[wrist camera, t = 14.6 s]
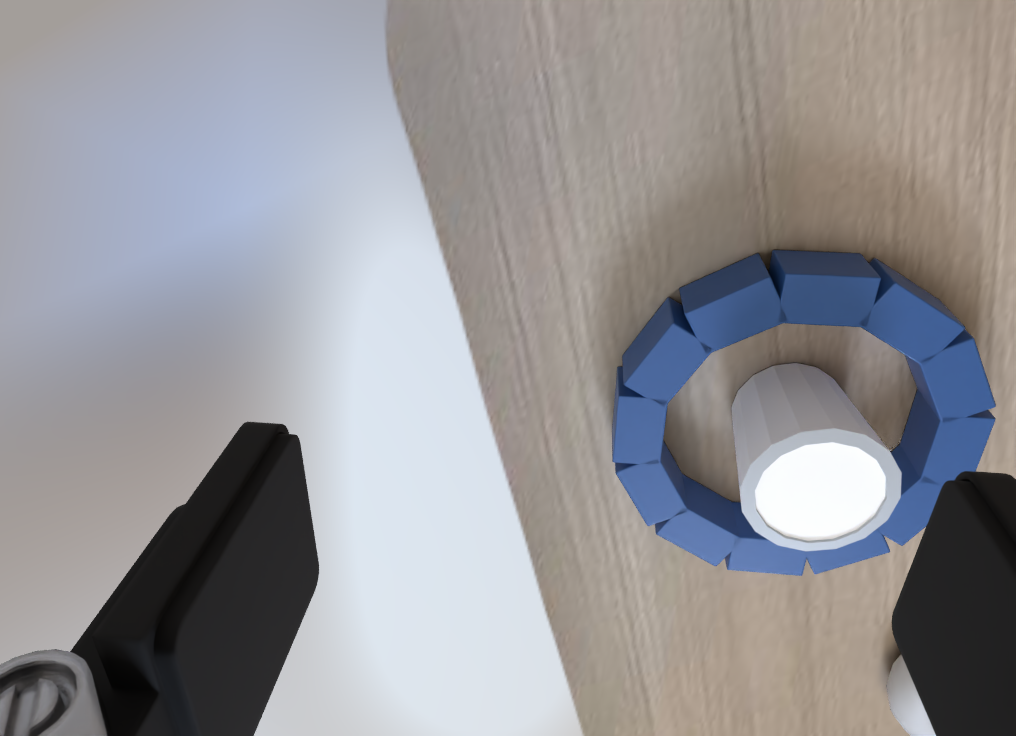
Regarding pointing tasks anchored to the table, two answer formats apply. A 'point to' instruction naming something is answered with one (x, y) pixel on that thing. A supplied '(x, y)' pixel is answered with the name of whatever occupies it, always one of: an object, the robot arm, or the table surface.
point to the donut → (907, 701)
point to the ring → (797, 300)
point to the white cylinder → (809, 461)
